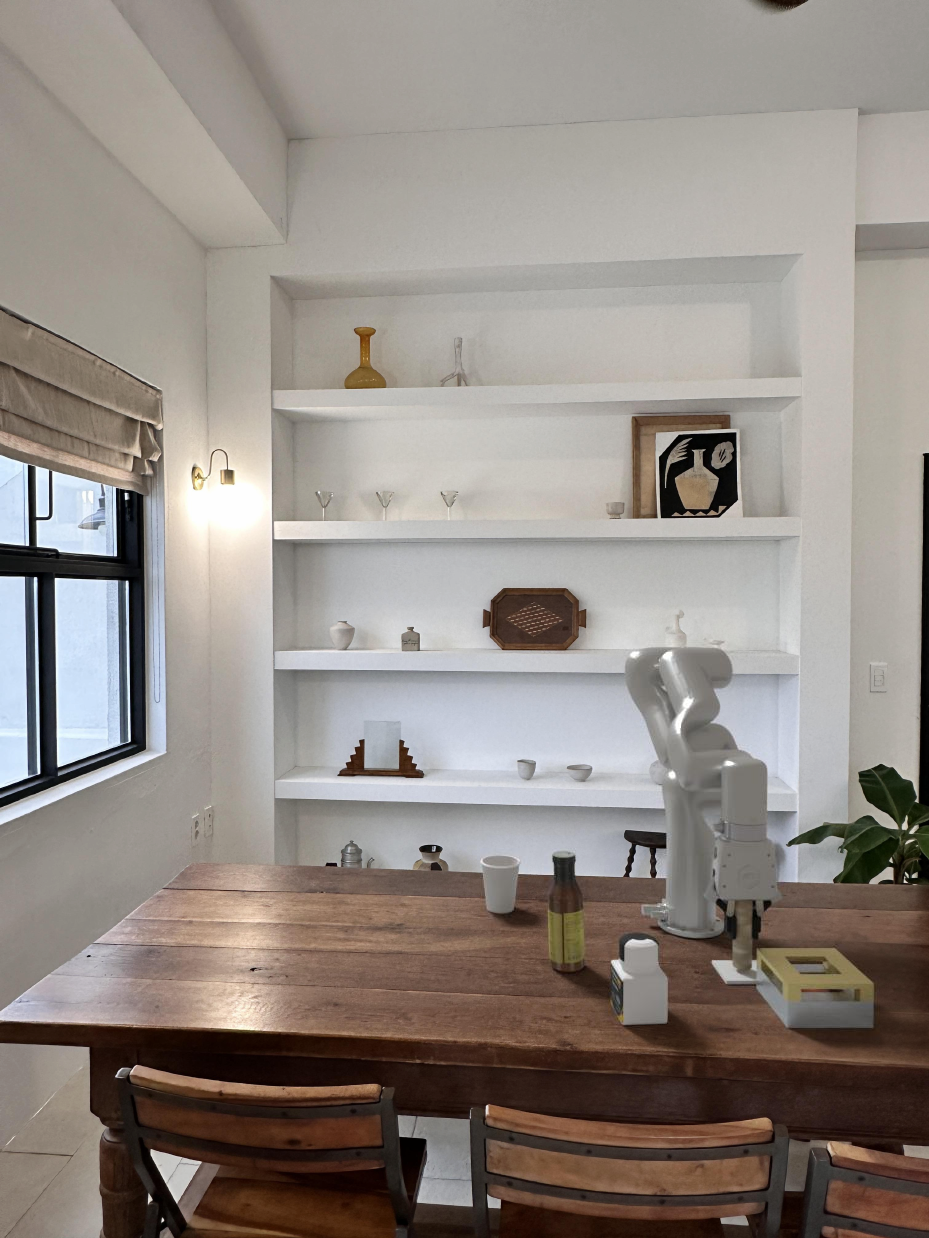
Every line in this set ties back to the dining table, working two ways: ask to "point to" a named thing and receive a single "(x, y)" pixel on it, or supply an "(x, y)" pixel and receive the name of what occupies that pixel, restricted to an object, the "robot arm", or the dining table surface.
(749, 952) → the beige cylinder rod
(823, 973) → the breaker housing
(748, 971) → the pad
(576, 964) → the sauce bottle
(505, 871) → the dixie cup
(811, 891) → the dining table surface
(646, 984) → the medicine bottle
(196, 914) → the dining table surface
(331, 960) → the dining table surface
